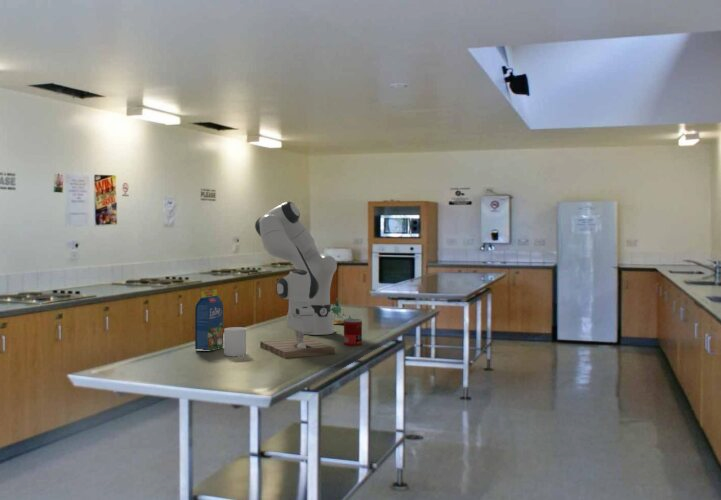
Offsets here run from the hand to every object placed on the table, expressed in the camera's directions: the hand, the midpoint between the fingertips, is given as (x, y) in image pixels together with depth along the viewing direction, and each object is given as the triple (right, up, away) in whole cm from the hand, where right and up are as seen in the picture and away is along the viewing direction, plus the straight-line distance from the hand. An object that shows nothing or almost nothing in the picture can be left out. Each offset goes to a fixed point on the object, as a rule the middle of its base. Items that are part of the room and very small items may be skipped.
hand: (299, 341), depth 291 cm
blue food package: (-38, -4, +2) cm, 38 cm away
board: (-1, -4, +1) cm, 4 cm away
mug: (-25, -4, -9) cm, 26 cm away
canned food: (+22, -4, +17) cm, 28 cm away
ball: (+1, -2, -5) cm, 5 cm away
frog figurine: (+14, -2, +84) cm, 85 cm away
